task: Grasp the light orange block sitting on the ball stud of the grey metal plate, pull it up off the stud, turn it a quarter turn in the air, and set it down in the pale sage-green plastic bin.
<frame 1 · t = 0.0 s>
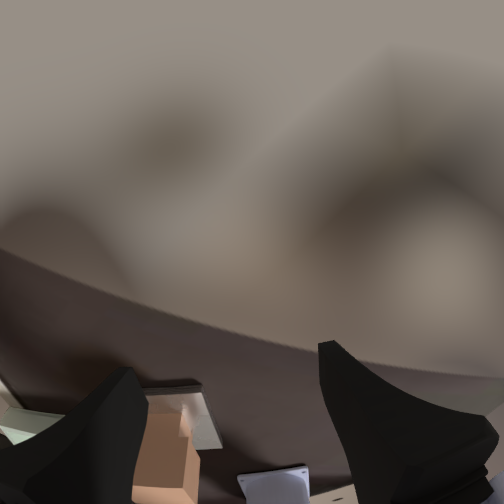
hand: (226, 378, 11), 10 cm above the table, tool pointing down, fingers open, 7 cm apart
light orange block: (169, 425, 24), point 1 cm above the table, touching stud plate
parts bin: (73, 446, 26), on the table
ink bottle: (15, 449, 28), on the table
stud plate: (171, 418, 24), on the table
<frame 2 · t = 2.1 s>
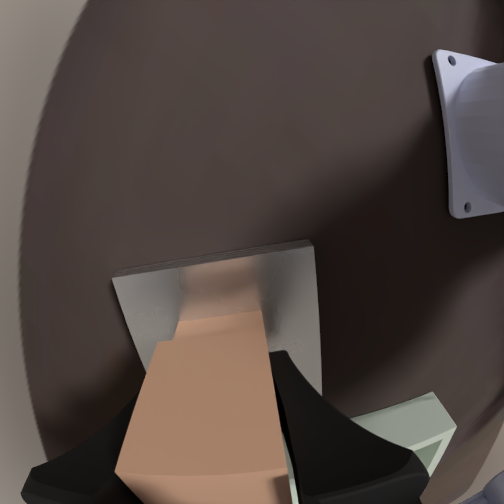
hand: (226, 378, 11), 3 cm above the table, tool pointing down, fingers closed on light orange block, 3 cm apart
light orange block: (227, 350, 13), point 1 cm above the table, touching gripper, stud plate
parts bin: (344, 473, 18), on the table
stud plate: (227, 337, 14), on the table
when the fingers open (3 cm above the table, at t = 7.2 s): light orange block stays where it is, resting on parts bin.
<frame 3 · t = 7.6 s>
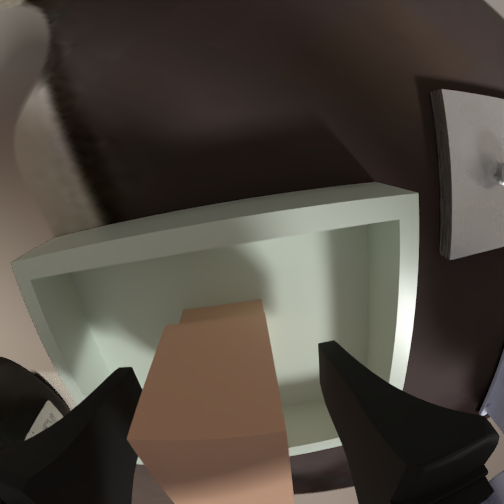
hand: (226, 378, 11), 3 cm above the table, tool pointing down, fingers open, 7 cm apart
light orange block: (228, 337, 14), point 1 cm above the table, touching parts bin
parts bin: (227, 331, 14), on the table
ink bottle: (29, 401, 16), on the table
stud plate: (490, 171, 12), on the table
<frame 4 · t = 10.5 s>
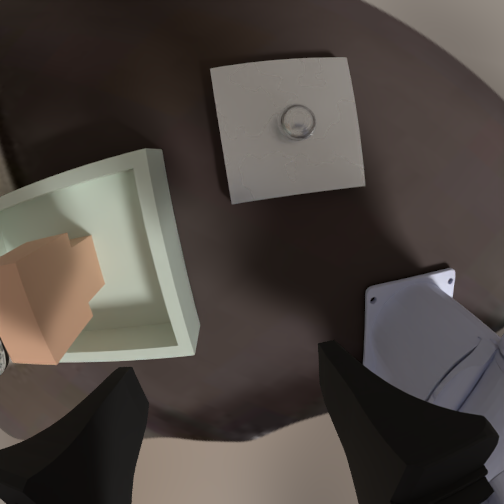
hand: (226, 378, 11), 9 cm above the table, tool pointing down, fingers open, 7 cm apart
light orange block: (77, 263, 18), point 1 cm above the table, touching parts bin
parts bin: (80, 261, 19), on the table
stud plate: (288, 126, 17), on the table
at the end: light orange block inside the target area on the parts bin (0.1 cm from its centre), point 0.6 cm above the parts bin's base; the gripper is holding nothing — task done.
